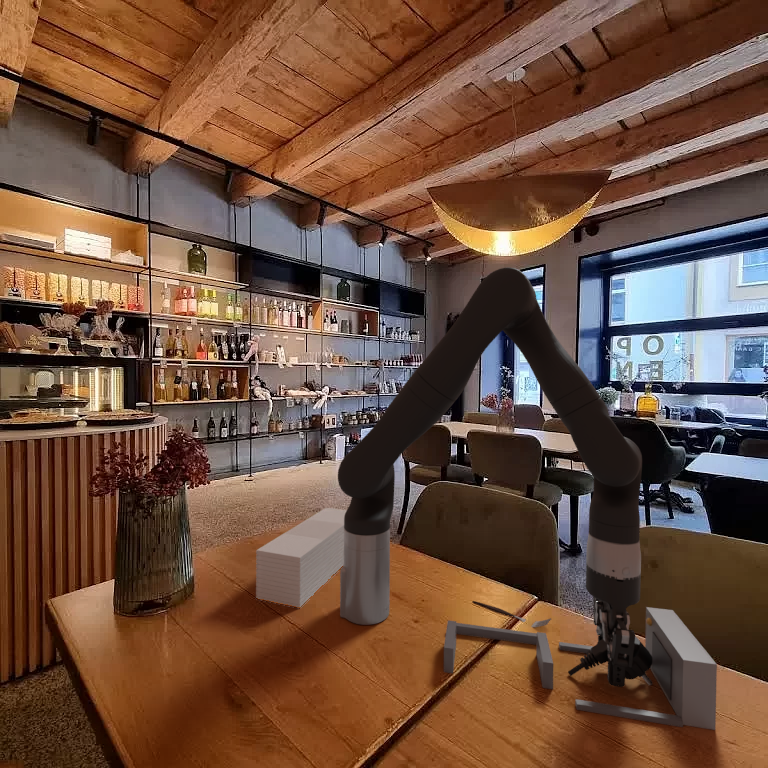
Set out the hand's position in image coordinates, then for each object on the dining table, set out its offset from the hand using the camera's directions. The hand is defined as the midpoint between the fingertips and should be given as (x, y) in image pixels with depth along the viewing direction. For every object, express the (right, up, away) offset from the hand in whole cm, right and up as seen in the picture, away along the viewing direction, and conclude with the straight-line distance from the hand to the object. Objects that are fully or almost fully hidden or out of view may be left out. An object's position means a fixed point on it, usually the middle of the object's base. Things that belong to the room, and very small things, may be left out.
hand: (610, 671), depth 68 cm
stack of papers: (-52, -1, +37) cm, 64 cm away
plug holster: (-17, -1, +6) cm, 18 cm away
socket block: (+2, -2, -1) cm, 3 cm away
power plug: (0, -1, 0) cm, 1 cm away
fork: (-11, -2, +19) cm, 22 cm away
